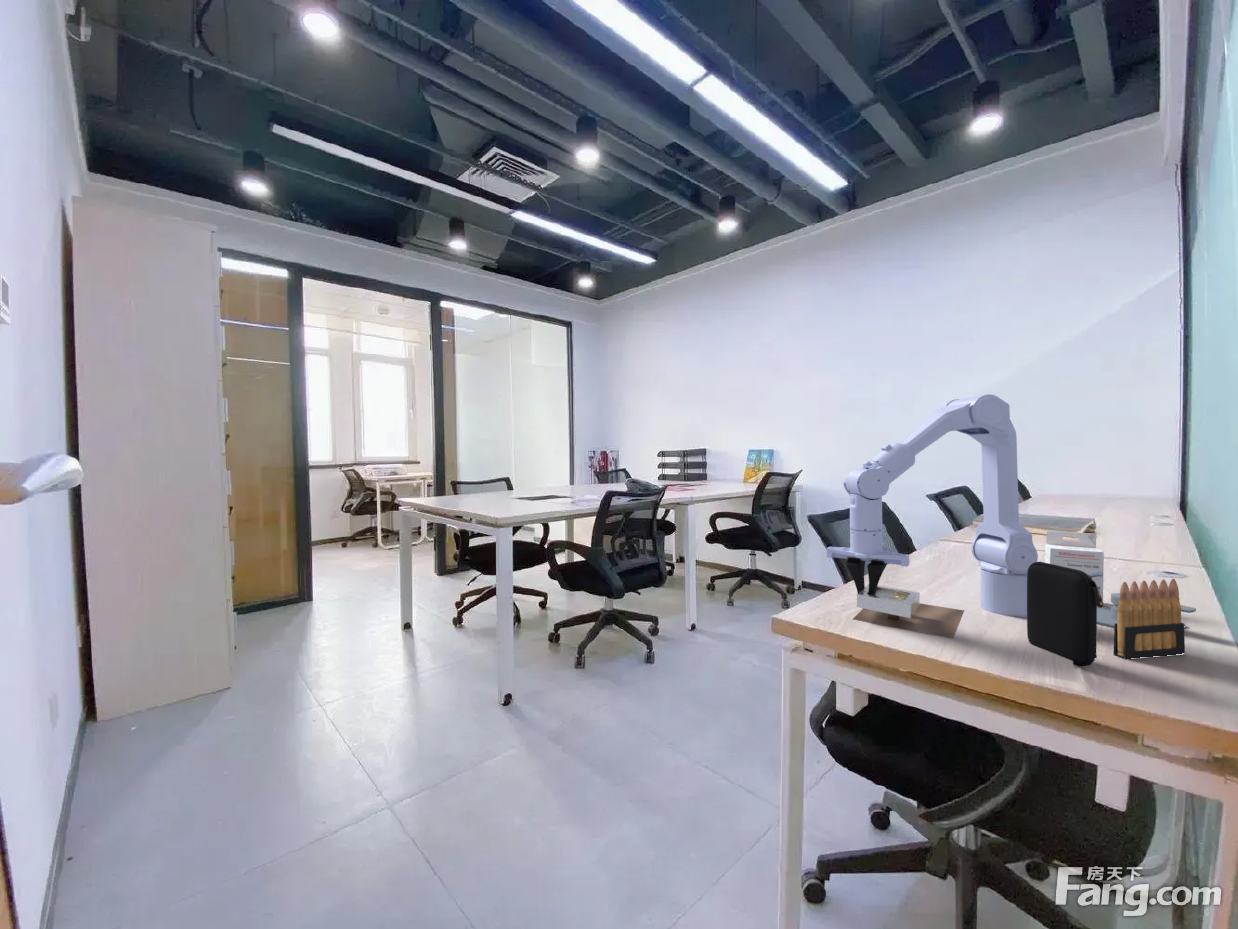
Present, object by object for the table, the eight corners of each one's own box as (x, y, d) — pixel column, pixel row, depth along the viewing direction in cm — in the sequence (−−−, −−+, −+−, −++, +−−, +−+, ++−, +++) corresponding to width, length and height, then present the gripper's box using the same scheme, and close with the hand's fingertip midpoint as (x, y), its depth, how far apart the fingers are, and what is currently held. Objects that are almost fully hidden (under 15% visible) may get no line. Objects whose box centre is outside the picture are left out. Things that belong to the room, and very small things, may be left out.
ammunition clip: (1126, 660, 75) (1126, 583, 75) (1112, 655, 77) (1112, 580, 77) (1185, 655, 76) (1186, 580, 76) (1170, 650, 78) (1171, 577, 78)
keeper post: (900, 617, 93) (900, 597, 93) (898, 620, 91) (897, 599, 91) (888, 615, 94) (888, 595, 94) (886, 618, 93) (886, 598, 93)
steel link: (919, 605, 94) (919, 592, 94) (910, 618, 87) (911, 604, 87) (868, 595, 100) (869, 583, 100) (856, 606, 93) (857, 594, 93)
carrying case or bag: (1110, 674, 71) (1110, 574, 70) (1092, 676, 70) (1093, 575, 70) (1037, 645, 81) (1036, 558, 81) (1021, 647, 81) (1021, 559, 80)
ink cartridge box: (1048, 602, 103) (1048, 533, 102) (1043, 596, 107) (1043, 530, 107) (1104, 608, 98) (1104, 536, 98) (1096, 601, 103) (1097, 532, 102)
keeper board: (963, 615, 96) (963, 610, 96) (952, 644, 83) (952, 638, 83) (875, 600, 107) (875, 596, 107) (852, 624, 93) (852, 619, 93)
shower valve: (1177, 614, 80) (1065, 591, 94) (1177, 646, 81) (1065, 618, 94) (1209, 603, 85) (1098, 582, 99) (1209, 633, 85) (1098, 609, 99)
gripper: (821, 528, 97) (822, 595, 97) (903, 535, 88) (904, 609, 88) (832, 524, 102) (833, 587, 103) (911, 530, 93) (911, 599, 93)
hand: (866, 597), depth 96 cm, fingers closed on steel link, 1 cm apart
